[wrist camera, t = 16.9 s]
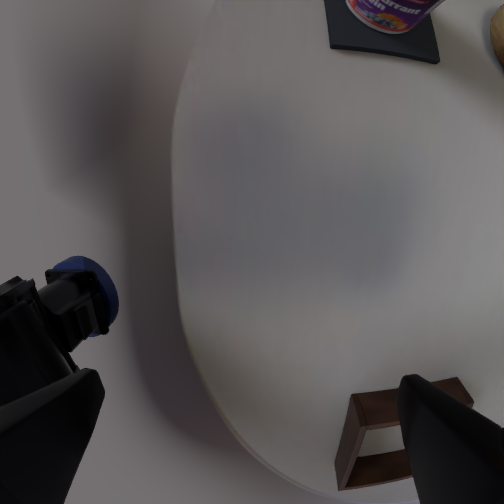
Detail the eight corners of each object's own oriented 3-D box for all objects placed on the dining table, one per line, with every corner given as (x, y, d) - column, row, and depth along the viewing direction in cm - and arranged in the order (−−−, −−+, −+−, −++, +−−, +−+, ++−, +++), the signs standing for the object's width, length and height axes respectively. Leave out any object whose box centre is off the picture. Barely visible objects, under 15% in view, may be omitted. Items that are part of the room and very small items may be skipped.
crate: (334, 463, 26) (338, 491, 22) (351, 394, 23) (360, 426, 19) (424, 447, 25) (434, 471, 21) (457, 376, 22) (474, 402, 18)
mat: (330, 48, 16) (332, 44, 15) (317, -35, 14) (318, -41, 13) (435, 64, 15) (440, 61, 14) (415, -18, 13) (419, -22, 12)
